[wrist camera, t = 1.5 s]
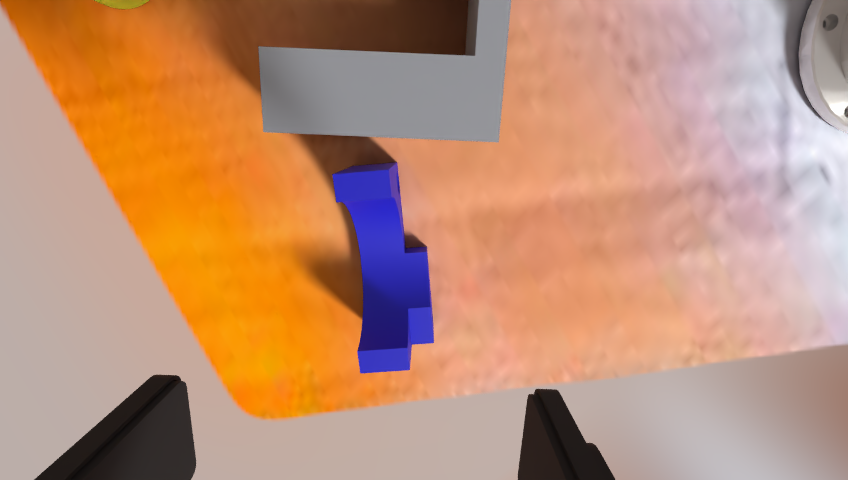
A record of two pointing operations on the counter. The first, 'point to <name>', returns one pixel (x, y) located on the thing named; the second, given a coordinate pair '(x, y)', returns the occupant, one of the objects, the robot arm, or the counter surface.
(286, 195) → the counter surface
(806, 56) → the robot arm
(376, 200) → the cable clip
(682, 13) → the counter surface
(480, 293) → the counter surface
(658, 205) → the counter surface
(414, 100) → the slotted block
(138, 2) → the soap dispenser
